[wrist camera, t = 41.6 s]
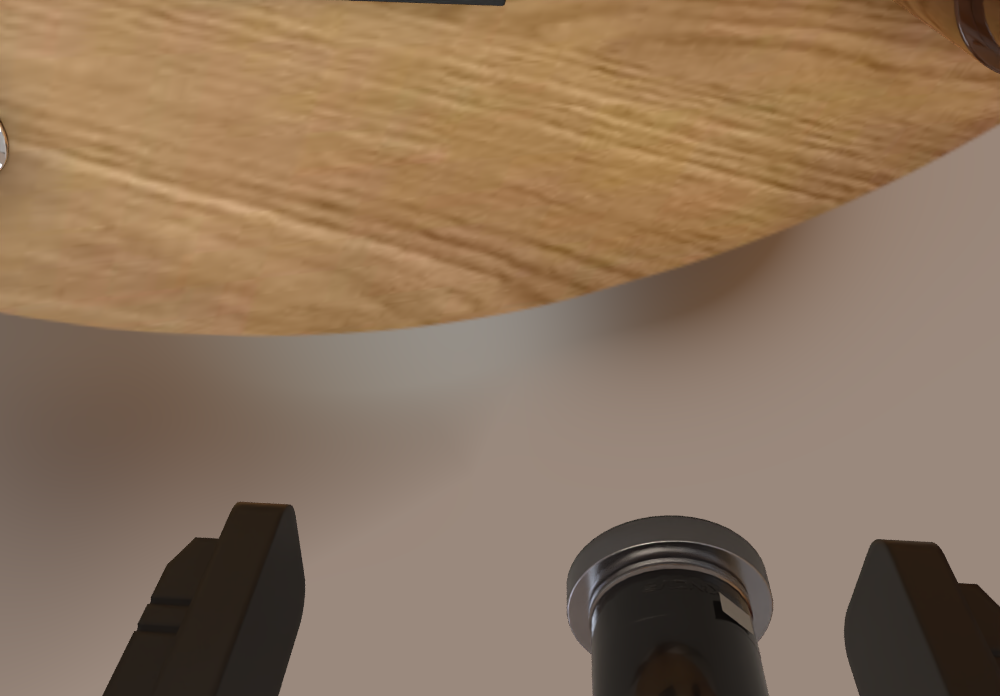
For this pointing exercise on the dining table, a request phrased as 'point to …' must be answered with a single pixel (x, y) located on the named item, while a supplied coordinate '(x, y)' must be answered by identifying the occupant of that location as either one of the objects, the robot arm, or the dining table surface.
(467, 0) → the mat
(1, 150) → the wineglass
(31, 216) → the dining table surface
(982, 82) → the dining table surface
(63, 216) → the dining table surface
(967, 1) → the coffee jar
